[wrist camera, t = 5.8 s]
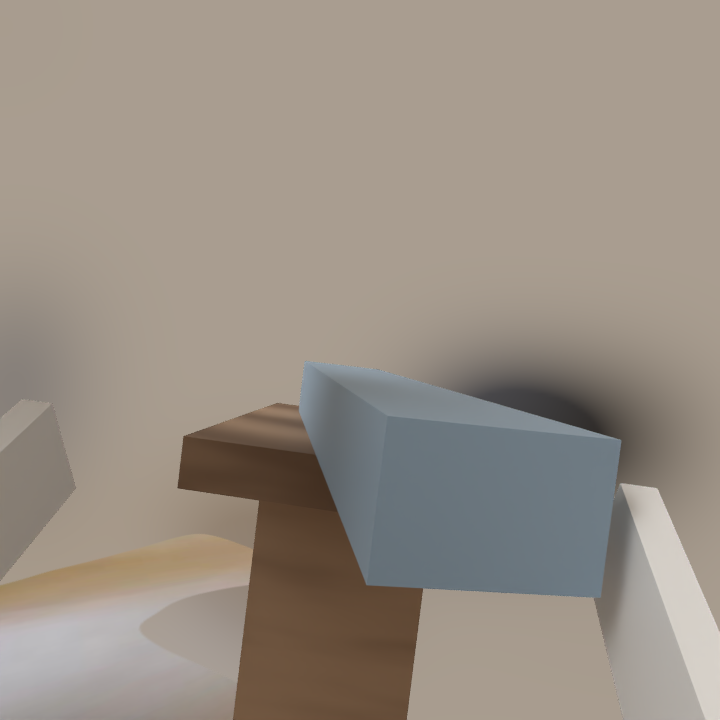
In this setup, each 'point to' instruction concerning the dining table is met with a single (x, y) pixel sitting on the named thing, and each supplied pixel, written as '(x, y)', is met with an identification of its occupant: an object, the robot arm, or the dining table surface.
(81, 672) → the dining table surface
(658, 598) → the robot arm
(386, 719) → the stand
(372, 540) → the bar
